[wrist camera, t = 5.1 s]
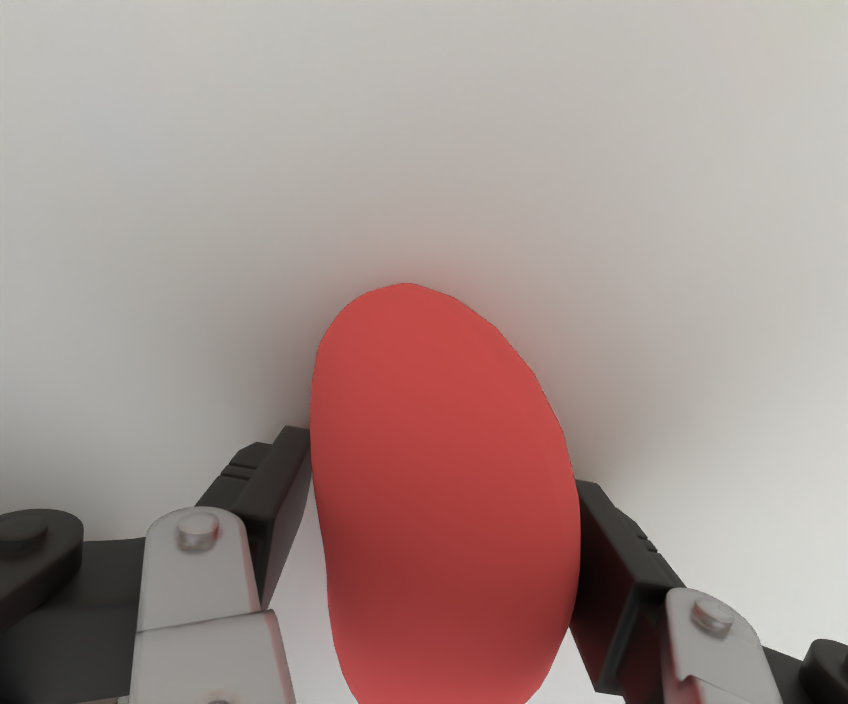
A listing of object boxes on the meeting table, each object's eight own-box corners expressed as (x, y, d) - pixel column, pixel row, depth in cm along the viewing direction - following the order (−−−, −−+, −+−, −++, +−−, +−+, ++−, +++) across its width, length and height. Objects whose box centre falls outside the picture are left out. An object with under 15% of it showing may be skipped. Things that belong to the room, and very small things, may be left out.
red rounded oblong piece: (591, 340, 13) (611, 251, 7) (563, 717, 11) (556, 1026, 5) (404, 329, 14) (284, 247, 8) (360, 658, 13) (181, 845, 7)
